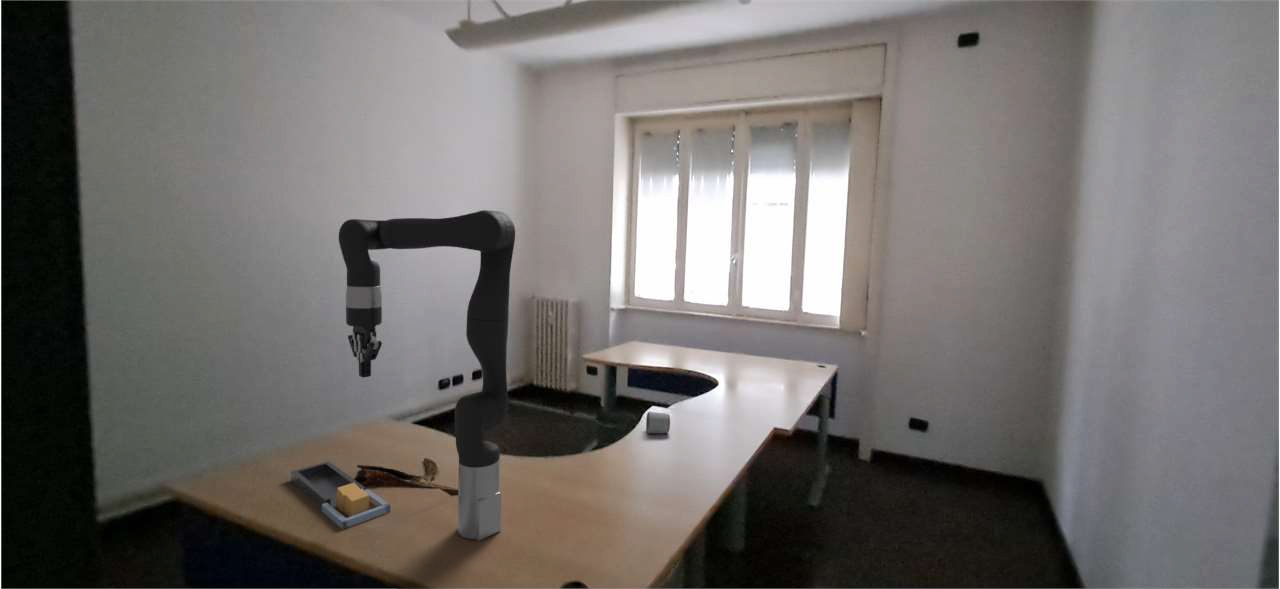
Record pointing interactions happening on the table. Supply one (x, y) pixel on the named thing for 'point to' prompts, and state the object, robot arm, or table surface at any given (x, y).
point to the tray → (343, 522)
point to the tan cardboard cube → (341, 494)
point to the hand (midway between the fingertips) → (364, 376)
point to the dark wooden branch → (392, 477)
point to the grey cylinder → (657, 422)
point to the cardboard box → (356, 502)
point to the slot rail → (322, 482)
